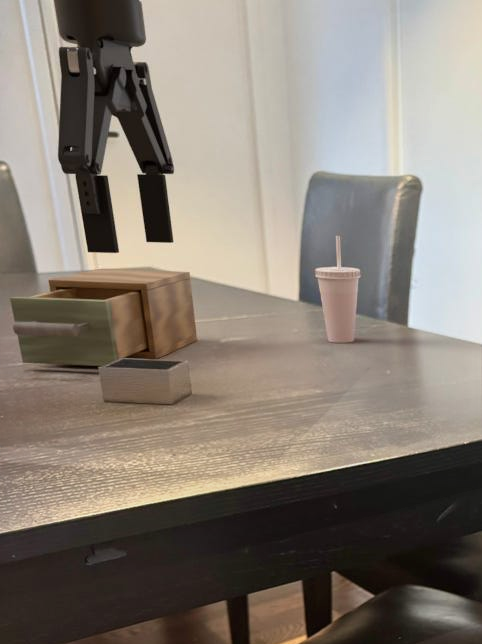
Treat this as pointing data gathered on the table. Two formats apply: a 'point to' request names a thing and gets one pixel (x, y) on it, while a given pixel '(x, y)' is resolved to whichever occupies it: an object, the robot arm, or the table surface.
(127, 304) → the drawer
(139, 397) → the grey rectangular box
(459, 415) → the table surface
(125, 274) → the cabinet
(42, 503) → the table surface
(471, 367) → the table surface
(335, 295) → the smoothie
